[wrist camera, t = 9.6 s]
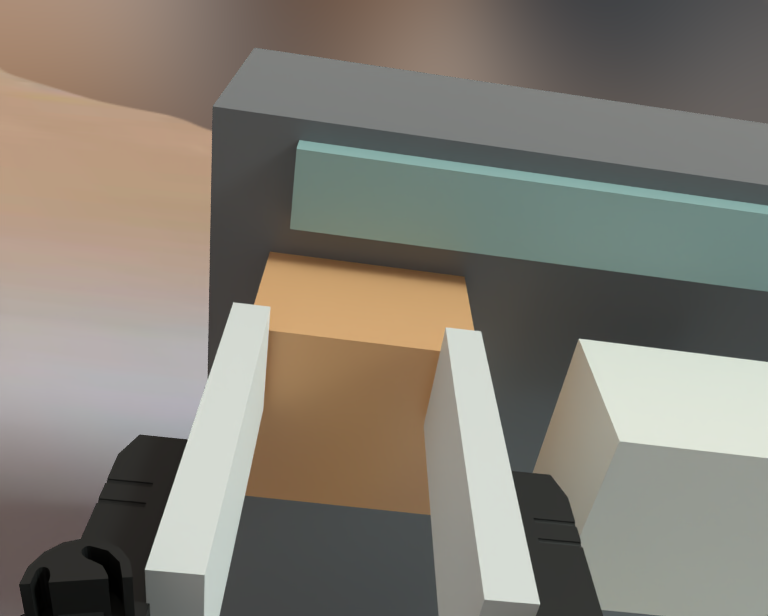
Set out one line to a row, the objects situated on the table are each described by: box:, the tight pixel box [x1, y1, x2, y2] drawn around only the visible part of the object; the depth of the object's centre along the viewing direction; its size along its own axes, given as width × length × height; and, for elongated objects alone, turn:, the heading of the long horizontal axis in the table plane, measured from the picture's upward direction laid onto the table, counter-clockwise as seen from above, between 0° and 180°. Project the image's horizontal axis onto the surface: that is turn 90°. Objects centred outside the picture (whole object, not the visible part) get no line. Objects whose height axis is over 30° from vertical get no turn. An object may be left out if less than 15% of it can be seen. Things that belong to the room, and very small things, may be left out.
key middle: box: [533, 339, 768, 616], centre depth 17 cm, size 5×4×5 cm
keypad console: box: [208, 48, 768, 616], centre depth 25 cm, size 23×7×20 cm, turn 90°
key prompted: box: [245, 252, 474, 515], centre depth 18 cm, size 5×4×5 cm
